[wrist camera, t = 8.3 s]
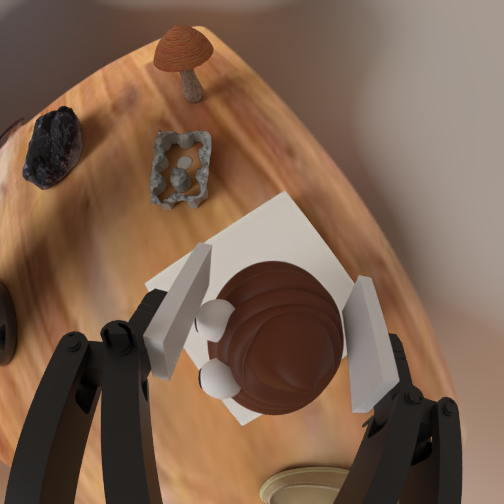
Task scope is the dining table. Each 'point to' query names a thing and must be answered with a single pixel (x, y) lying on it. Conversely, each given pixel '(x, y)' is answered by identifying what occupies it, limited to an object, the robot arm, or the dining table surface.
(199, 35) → the mushroom
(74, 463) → the robot arm
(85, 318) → the dining table surface
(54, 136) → the crystal cluster
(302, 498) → the boat shoe
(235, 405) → the podium
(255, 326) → the poop emoji
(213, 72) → the dining table surface
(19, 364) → the dining table surface
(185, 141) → the stone castle ruin
